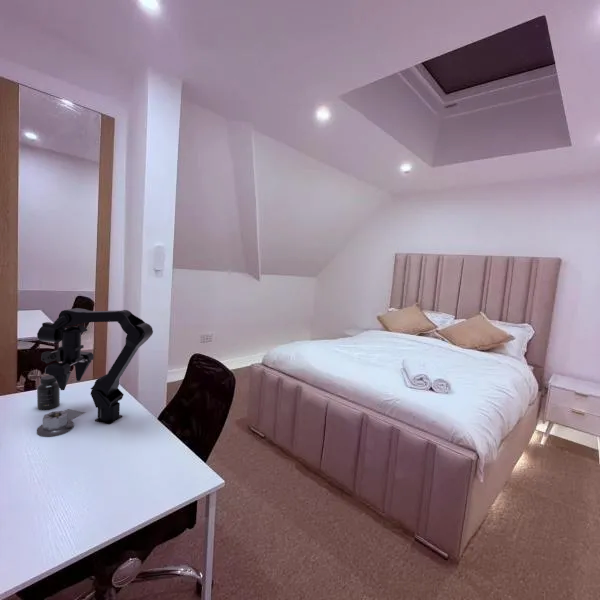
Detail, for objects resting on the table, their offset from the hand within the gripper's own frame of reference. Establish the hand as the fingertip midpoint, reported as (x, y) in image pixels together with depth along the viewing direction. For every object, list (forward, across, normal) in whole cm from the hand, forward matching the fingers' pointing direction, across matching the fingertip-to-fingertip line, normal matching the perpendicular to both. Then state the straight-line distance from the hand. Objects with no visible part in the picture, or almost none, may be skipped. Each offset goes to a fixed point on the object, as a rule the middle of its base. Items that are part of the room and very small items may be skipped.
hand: (70, 385), depth 119 cm
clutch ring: (+10, +10, +1) cm, 15 cm away
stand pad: (+12, 0, -1) cm, 12 cm away
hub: (+12, +10, +1) cm, 16 cm away
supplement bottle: (+12, -6, -12) cm, 18 cm away
